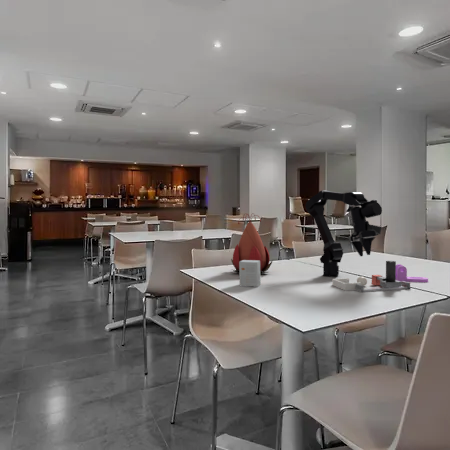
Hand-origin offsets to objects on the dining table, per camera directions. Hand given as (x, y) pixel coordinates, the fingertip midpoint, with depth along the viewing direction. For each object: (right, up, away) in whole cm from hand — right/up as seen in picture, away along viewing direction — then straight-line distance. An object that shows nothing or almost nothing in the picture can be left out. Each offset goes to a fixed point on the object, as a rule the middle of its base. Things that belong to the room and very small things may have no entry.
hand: (365, 255), depth 162 cm
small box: (-50, -13, -2) cm, 52 cm away
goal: (-10, -12, -7) cm, 18 cm away
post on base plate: (+5, -12, -8) cm, 15 cm away
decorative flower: (-47, -11, +27) cm, 56 cm away
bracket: (+22, -12, +4) cm, 26 cm away
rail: (+3, -13, -12) cm, 18 cm away
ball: (-4, -10, -6) cm, 12 cm away
